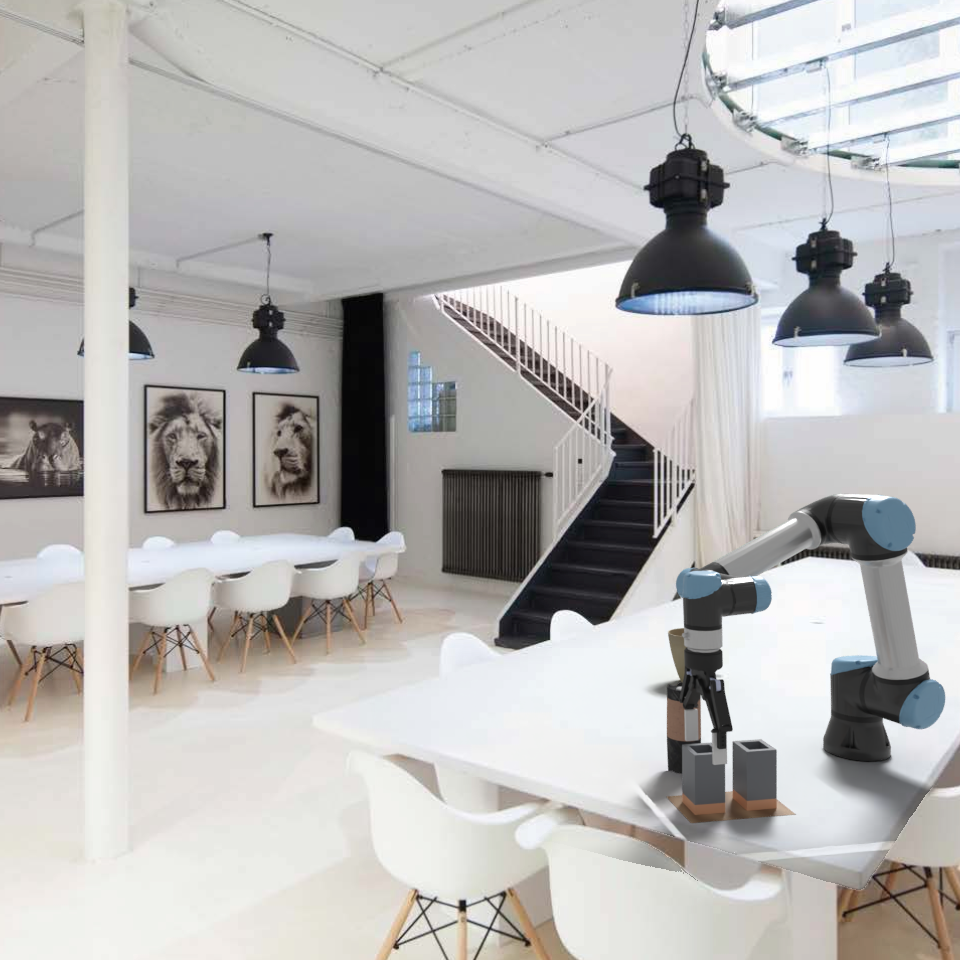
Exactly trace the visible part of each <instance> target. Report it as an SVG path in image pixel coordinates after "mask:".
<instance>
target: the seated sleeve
mask: <svg viewBox="0 0 960 960" xmlns="http://www.w3.org/2000/svg"><path fill="white" fill-rule="evenodd" d="M777 752H778V750H777V749H776V748H775V747H773V746H772V745H770V744H769V743H768V742H766V741H765V740H763V739H762V738H760V739H745V740H733V741H732V791H733V799H734V800H735V801H737V802H738V803H739V804H740V805H741V806H742V807H743V808H744V809H746V810H747V811H750V810H762V809H775V808H777V800H778V799H777V798H778V796H777V789H778V787H777V781H778V780H777V775H778V774H777V772H778V771H777V770H778V769H777V766H778V764H777V759H778V758H777Z"/></svg>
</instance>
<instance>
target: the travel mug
mask: <svg viewBox="0 0 960 960" xmlns="http://www.w3.org/2000/svg"><path fill="white" fill-rule="evenodd" d="M682 683H683V682H681V681H680V682H678V683H676V684H675V685H674V684H673V685H671V684H670V683H669V684H667V686H666V749H667V750H666V751H667V753H666V755H667V772H673V773H676V774H680V775H682V745H683V744H698V743H702V708H701V707H702V704H701V703H702V702H701V700H702V696H700V698H699V701H698V703H697V704H698V707H699V708H693V709H697V710H698V740H696V741H685V719H684V710H685V709H684V708H683V703H680V701H679V698H680V693H681V688H682ZM685 697H686V696H685Z"/></svg>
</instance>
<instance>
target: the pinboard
mask: <svg viewBox="0 0 960 960" xmlns="http://www.w3.org/2000/svg"><path fill="white" fill-rule="evenodd" d="M665 797H666V799H668V801H669V802H670V803H671V804H672V805H673V806H674V807H675V808H676V809H677V810H678V811H679V812H680V813H681V815H683V817H685V818H686V819H687V821H688V822H689V823H690V824H697V823H710V822H720V821H721V822H723V821H732V820H733V821H734V820H747V819H758V818H760V819H761V818H768V817H769V818H771V817H778V816H779V817H781V816H782V817H783V816H792V815H793V816H795V815H797V814H796V813H795V812H793V811H792V810H791V809H790V808H788V807H787V806H786V805H785V804H784V803H782V801H780V800H778V799H777V808H775V809H762V810H750V811H747V810H746V809H744V808H743V807H742V806H741V805H740V804H739V803H738V802H737V801H735V800H734V799H733V790H732V791H725V813H713V814H701V815H695V814H694V813H693V812H692V811H691V810H690V809H689V808H688V807H687V806H686V805H685V804H684V803H683V802H682V794H681V795H669V796H668V795H667V796H665Z"/></svg>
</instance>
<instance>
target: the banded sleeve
mask: <svg viewBox="0 0 960 960" xmlns="http://www.w3.org/2000/svg"><path fill="white" fill-rule="evenodd" d="M681 778H682V779H681V780H682V783H681V784H682V785H681V790H682V794H681V795H682V802H683V803H684V804H685V805H686V806H687V807H688V808H689V809H690V810H691V811H692V812H693V813H694V814H695V815H701V814H713V813H725V792H726V764H719V765H714V764H712V742H701V743H698V744H683V745H682V774H681Z"/></svg>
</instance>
